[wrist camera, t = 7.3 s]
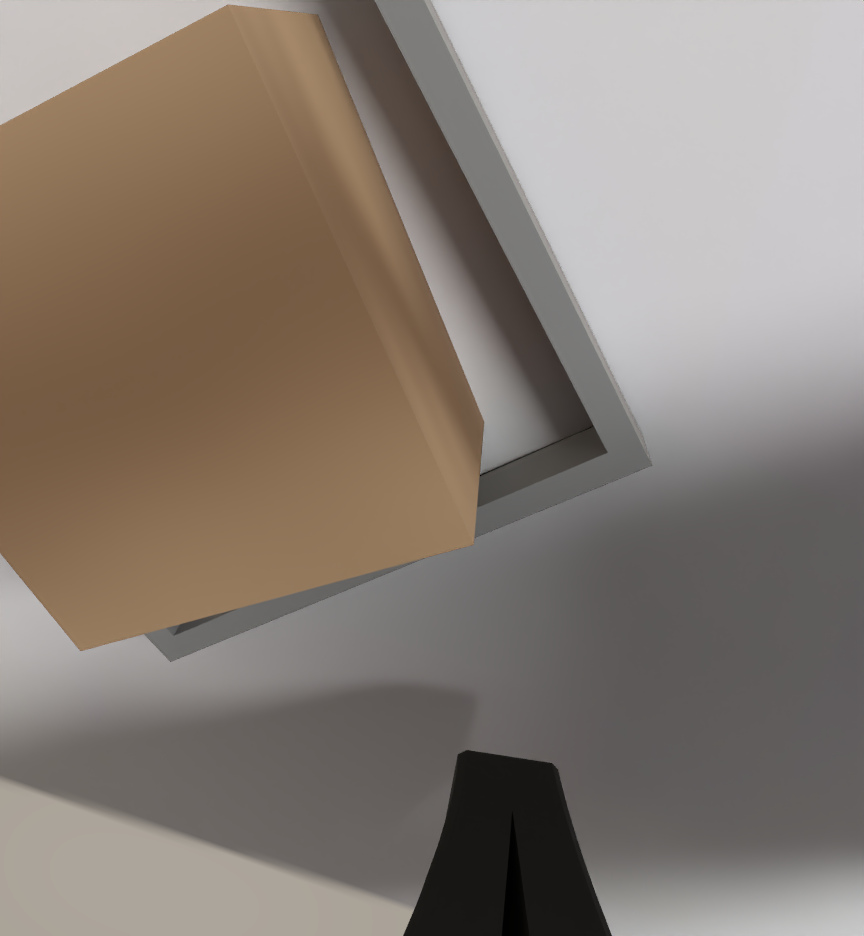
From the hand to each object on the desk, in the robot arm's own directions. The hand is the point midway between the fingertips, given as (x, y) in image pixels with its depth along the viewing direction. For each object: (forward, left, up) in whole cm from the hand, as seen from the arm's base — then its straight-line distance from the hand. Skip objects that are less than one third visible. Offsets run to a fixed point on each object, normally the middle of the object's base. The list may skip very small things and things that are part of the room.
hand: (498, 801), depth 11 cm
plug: (+7, 0, -2) cm, 8 cm away
